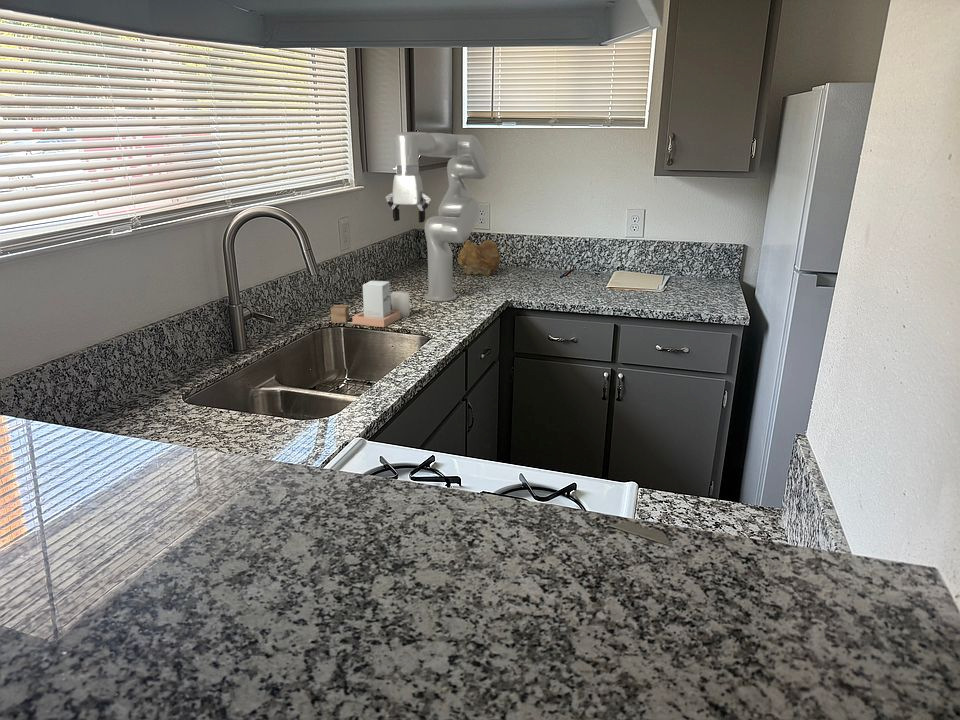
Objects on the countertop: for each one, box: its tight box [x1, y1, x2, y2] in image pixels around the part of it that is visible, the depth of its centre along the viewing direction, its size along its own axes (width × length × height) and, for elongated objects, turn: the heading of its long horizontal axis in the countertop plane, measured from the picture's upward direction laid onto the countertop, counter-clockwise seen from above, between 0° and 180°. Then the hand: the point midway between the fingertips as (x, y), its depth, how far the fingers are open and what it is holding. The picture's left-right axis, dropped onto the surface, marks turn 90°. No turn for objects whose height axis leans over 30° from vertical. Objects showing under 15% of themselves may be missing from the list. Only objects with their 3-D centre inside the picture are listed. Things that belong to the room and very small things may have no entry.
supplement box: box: [362, 280, 391, 319], centre depth 238 cm, size 7×7×13 cm
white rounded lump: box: [390, 290, 411, 318], centre depth 247 cm, size 6×6×8 cm
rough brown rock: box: [457, 239, 501, 277], centre depth 316 cm, size 23×17×15 cm
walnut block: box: [330, 304, 350, 324], centre depth 240 cm, size 5×5×5 cm
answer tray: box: [351, 310, 401, 328], centre depth 240 cm, size 12×12×2 cm
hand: (409, 221), depth 243 cm, fingers open, 9 cm apart
